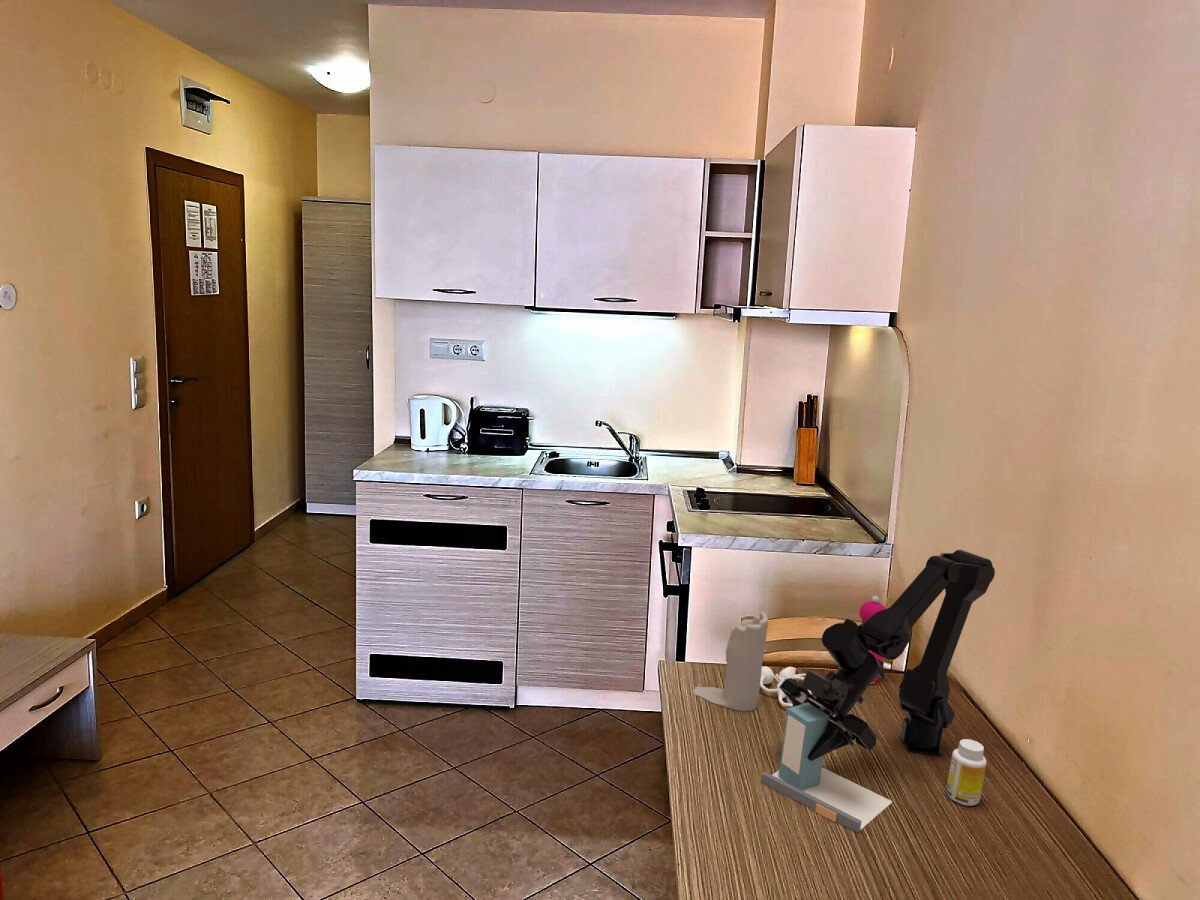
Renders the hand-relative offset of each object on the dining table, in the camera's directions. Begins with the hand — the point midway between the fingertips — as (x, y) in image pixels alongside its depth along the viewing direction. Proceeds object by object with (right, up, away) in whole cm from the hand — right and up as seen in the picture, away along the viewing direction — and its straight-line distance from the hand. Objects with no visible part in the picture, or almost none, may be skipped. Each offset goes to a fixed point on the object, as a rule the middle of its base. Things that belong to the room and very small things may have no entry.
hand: (797, 751), depth 149 cm
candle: (-8, 0, +33) cm, 34 cm away
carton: (+1, -6, +2) cm, 6 cm away
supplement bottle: (+30, -9, +3) cm, 31 cm away
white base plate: (+5, -8, -1) cm, 9 cm away
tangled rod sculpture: (+8, -1, +36) cm, 37 cm away
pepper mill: (+26, 0, +48) cm, 55 cm away
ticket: (+3, -9, -8) cm, 12 cm away
